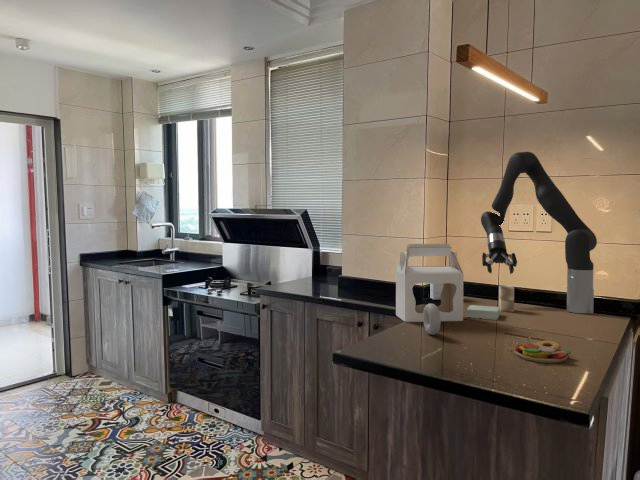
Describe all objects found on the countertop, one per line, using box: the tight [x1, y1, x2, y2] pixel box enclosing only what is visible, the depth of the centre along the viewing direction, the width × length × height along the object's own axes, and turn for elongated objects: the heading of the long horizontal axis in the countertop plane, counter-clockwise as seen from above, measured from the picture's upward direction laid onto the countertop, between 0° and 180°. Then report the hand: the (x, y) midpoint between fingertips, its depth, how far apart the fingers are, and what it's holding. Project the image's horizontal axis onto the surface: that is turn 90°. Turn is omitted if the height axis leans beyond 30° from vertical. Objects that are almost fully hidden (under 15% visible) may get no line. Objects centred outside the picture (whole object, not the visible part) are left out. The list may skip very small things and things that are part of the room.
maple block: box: [498, 284, 515, 313], centre depth 195 cm, size 5×5×10 cm
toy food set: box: [514, 340, 571, 364], centre depth 126 cm, size 13×13×3 cm
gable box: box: [395, 243, 464, 323], centre depth 178 cm, size 22×13×28 cm, turn 95°
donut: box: [422, 303, 442, 336], centre depth 151 cm, size 10×4×10 cm, turn 5°
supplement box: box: [429, 283, 444, 301], centre depth 227 cm, size 9×9×15 cm
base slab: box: [465, 304, 501, 321], centre depth 183 cm, size 11×11×4 cm
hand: (501, 272), depth 206 cm, fingers open, 8 cm apart
